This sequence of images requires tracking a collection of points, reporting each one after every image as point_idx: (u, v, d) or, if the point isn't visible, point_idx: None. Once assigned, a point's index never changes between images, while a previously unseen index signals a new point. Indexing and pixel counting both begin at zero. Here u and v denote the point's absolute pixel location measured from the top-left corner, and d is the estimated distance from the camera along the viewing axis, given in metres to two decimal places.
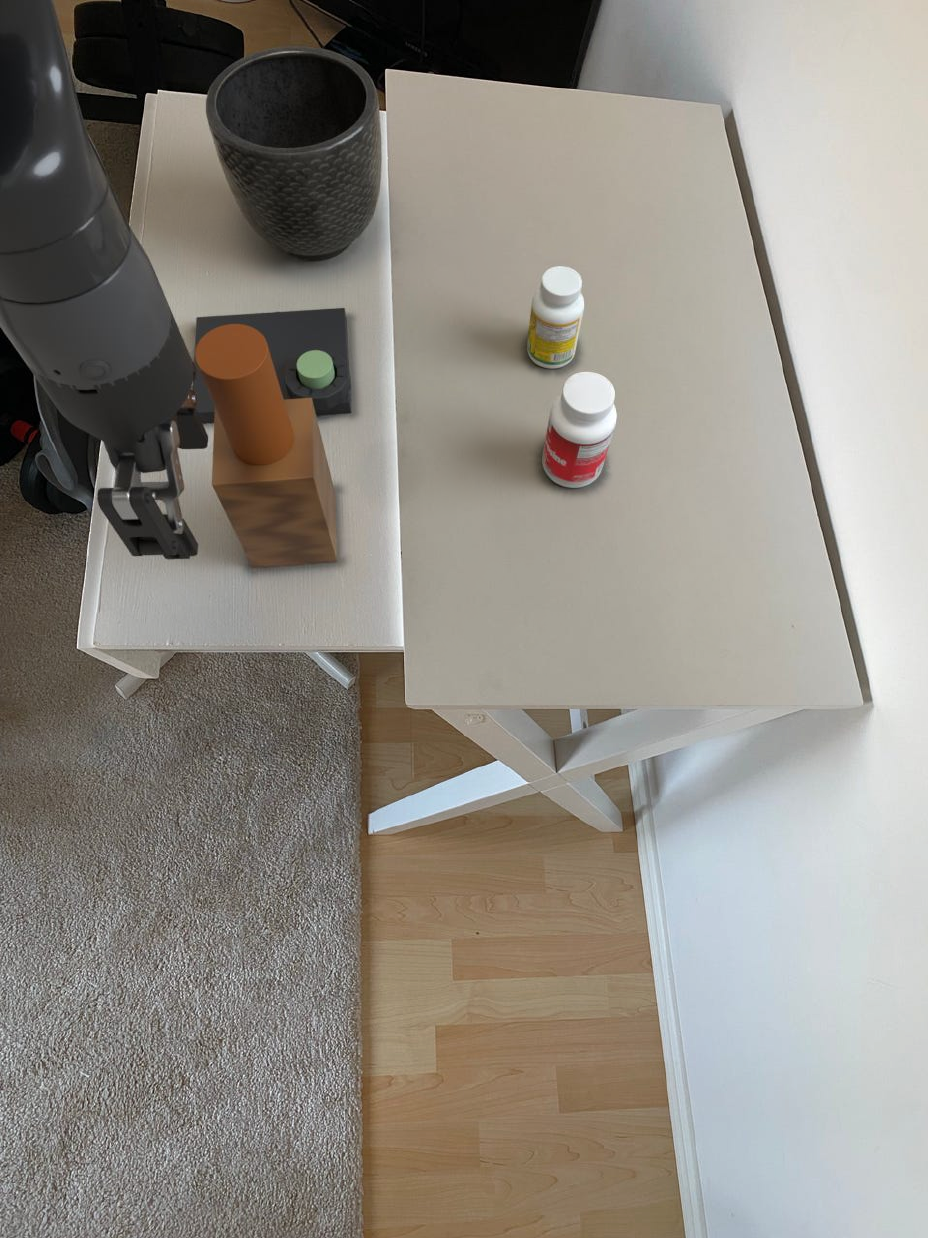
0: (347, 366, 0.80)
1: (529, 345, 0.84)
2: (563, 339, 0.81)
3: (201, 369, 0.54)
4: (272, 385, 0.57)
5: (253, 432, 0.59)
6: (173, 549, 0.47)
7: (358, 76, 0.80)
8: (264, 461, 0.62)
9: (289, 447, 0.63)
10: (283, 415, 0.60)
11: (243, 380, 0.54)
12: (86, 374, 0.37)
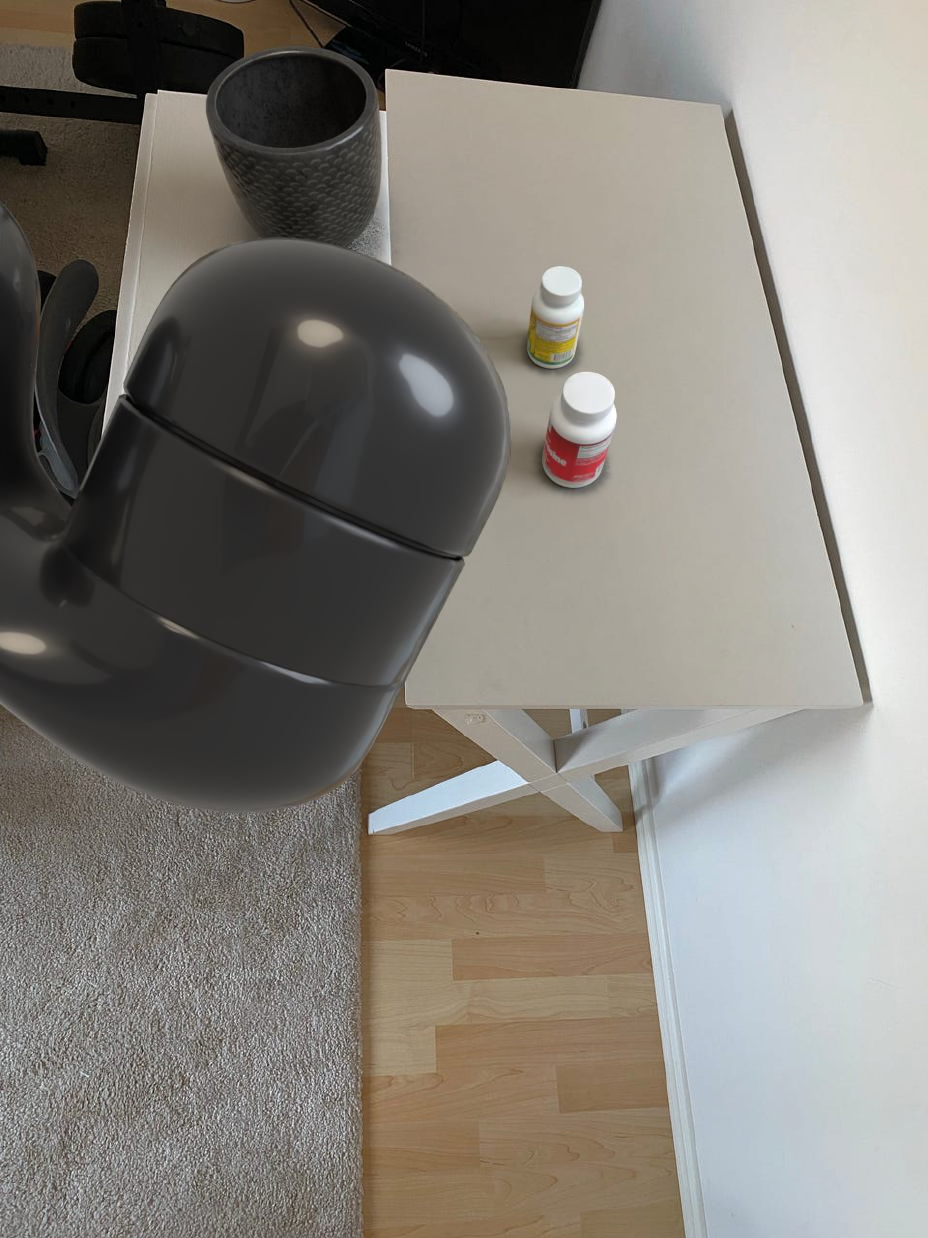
0: None
1: (529, 345, 0.84)
2: (563, 339, 0.81)
3: None
4: None
5: None
6: None
7: (358, 76, 0.80)
8: None
9: None
10: None
11: None
12: None
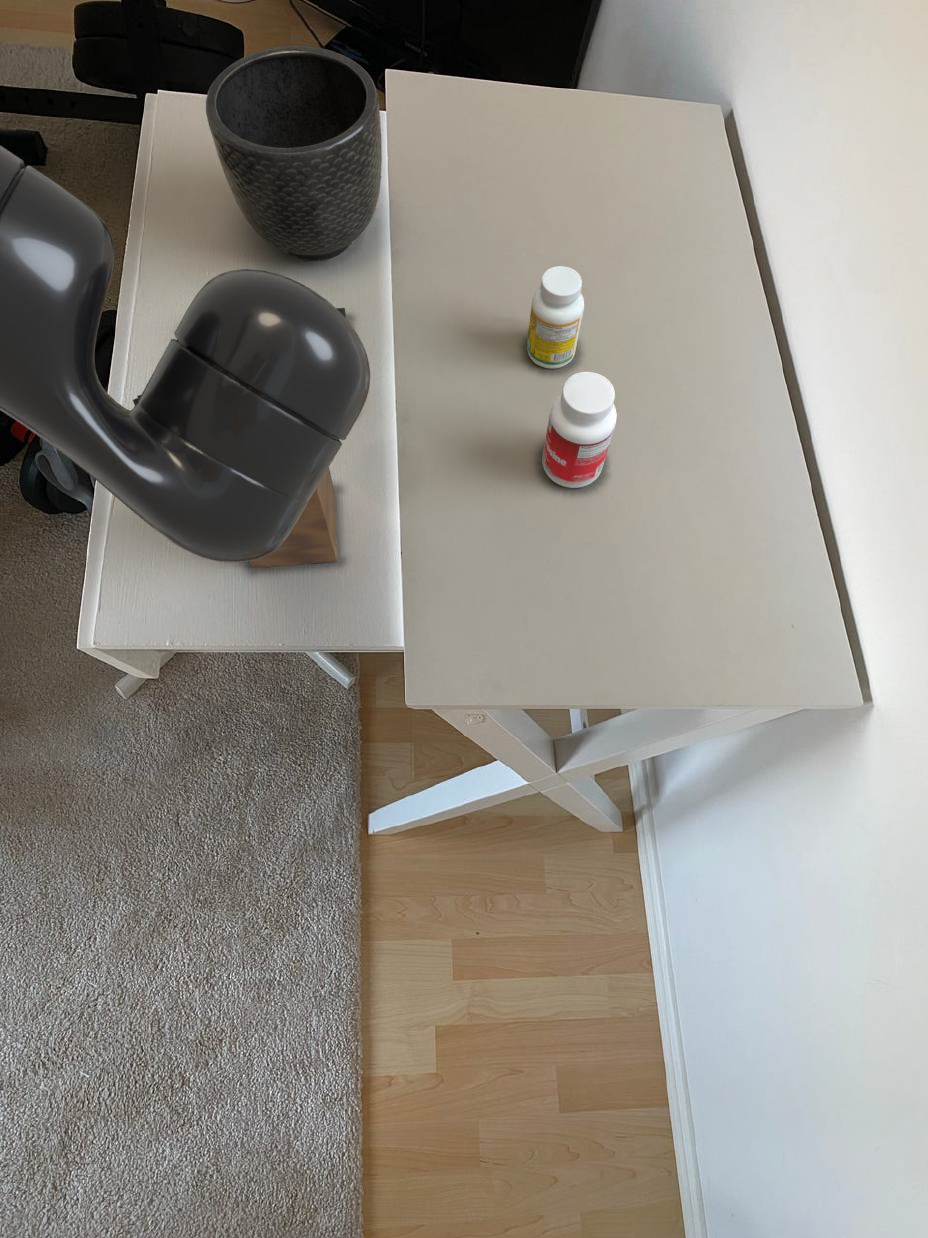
0: None
1: (529, 345, 0.84)
2: (563, 339, 0.81)
3: None
4: None
5: None
6: None
7: (358, 76, 0.80)
8: None
9: None
10: None
11: None
12: None
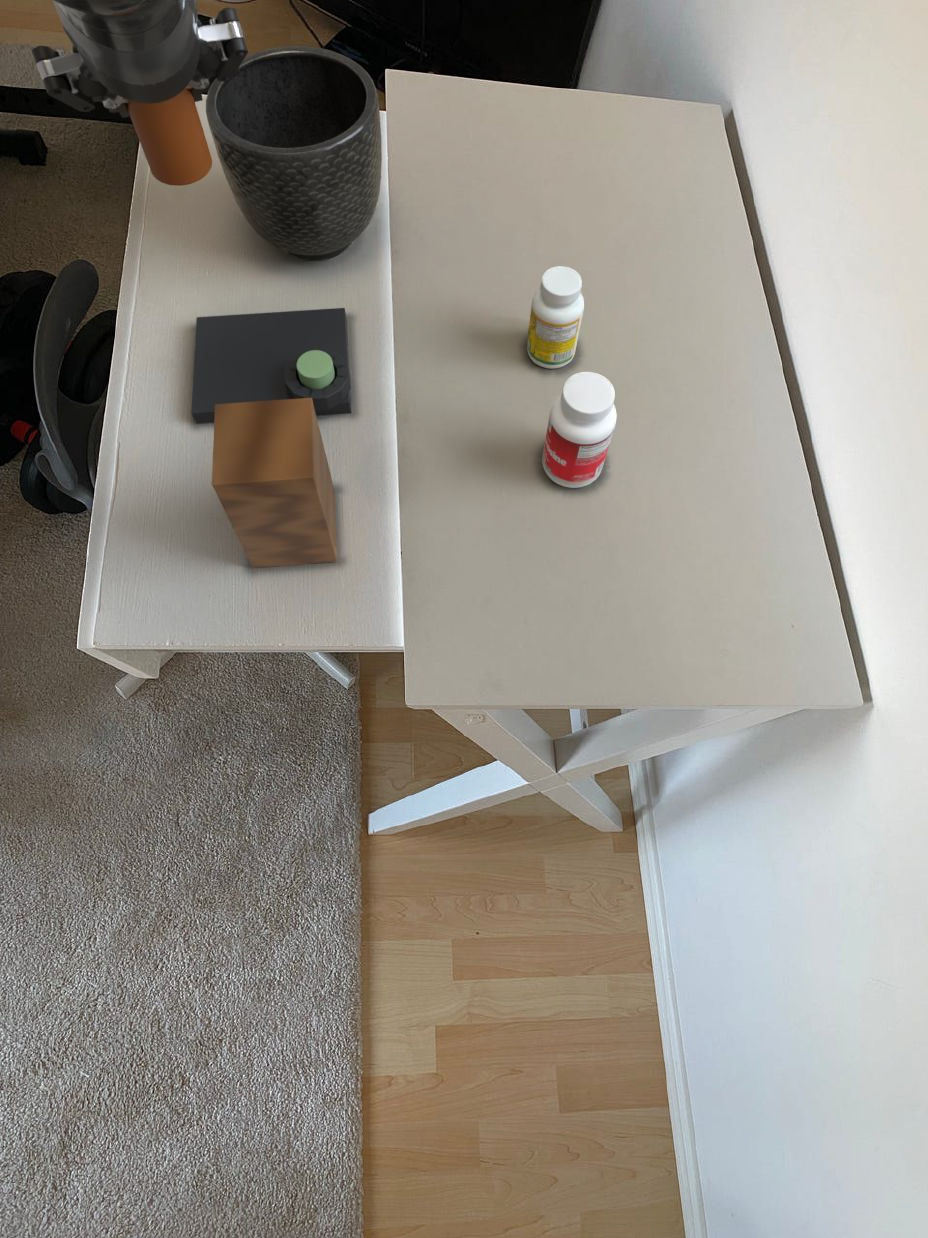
0: (347, 366, 0.80)
1: (529, 345, 0.84)
2: (563, 339, 0.81)
3: None
4: None
5: (165, 135, 0.60)
6: (82, 109, 0.56)
7: (358, 76, 0.80)
8: (181, 179, 0.63)
9: (206, 169, 0.64)
10: (197, 124, 0.61)
11: None
12: (63, 27, 0.45)
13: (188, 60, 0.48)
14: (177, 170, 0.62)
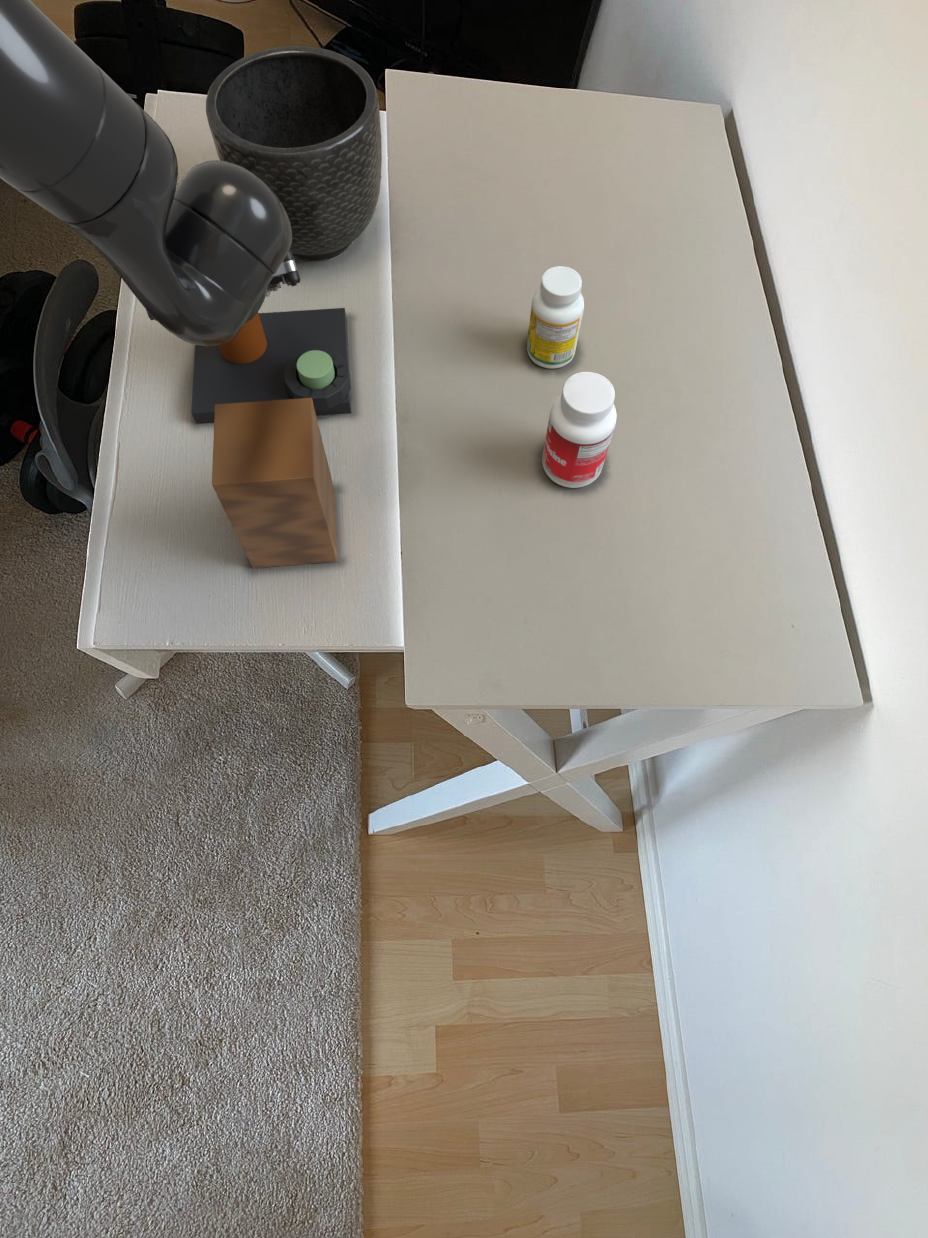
0: (347, 366, 0.80)
1: (529, 345, 0.84)
2: (563, 339, 0.81)
3: None
4: None
5: None
6: (154, 319, 0.73)
7: (358, 76, 0.80)
8: (244, 360, 0.82)
9: (263, 350, 0.83)
10: (258, 323, 0.80)
11: None
12: None
13: None
14: (241, 354, 0.81)
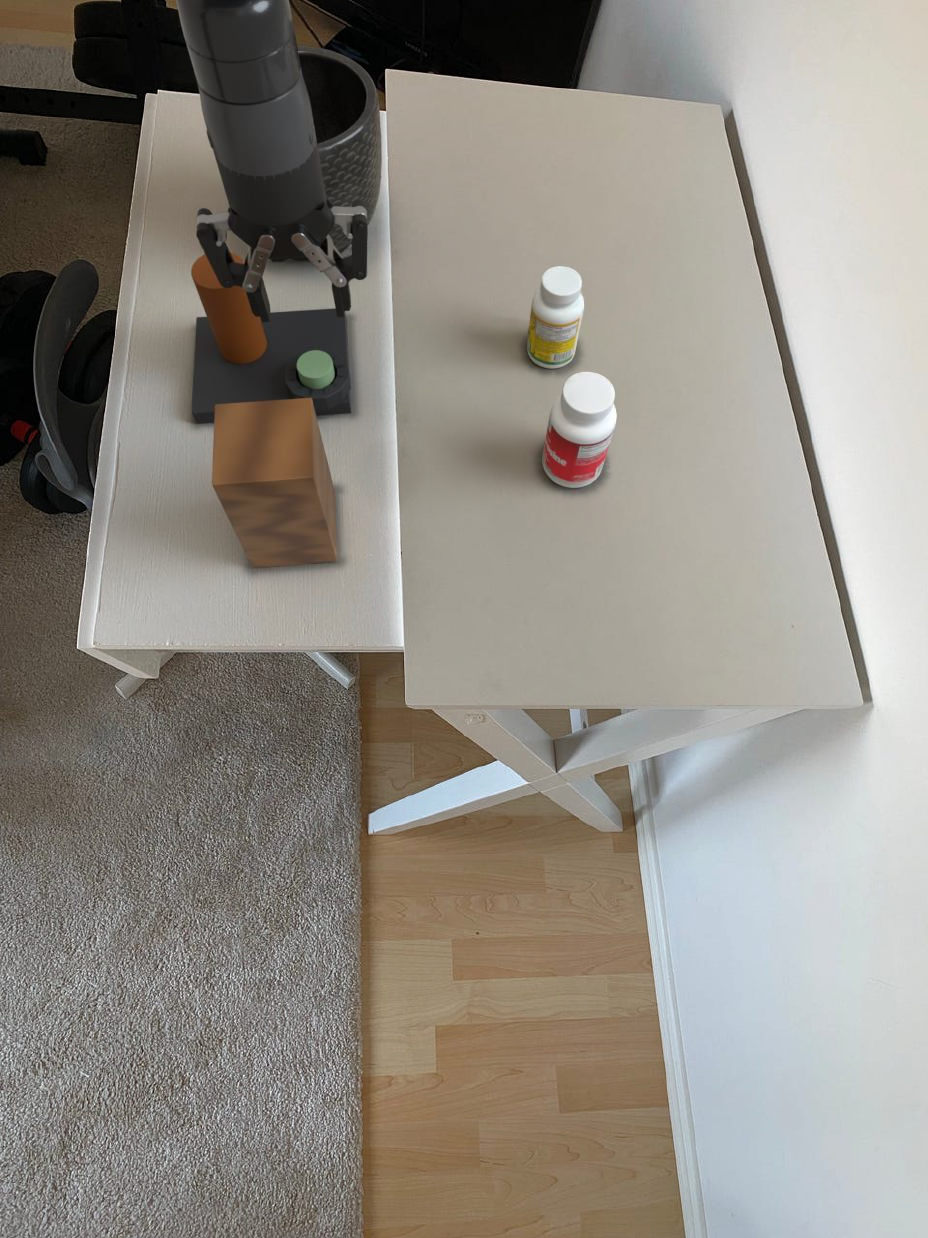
0: (347, 366, 0.80)
1: (529, 345, 0.84)
2: (563, 339, 0.81)
3: (195, 282, 0.74)
4: None
5: (235, 334, 0.79)
6: (222, 282, 0.67)
7: (358, 76, 0.80)
8: (244, 360, 0.82)
9: (263, 350, 0.83)
10: (258, 323, 0.80)
11: (226, 290, 0.74)
12: None
13: (299, 170, 0.57)
14: (241, 354, 0.81)
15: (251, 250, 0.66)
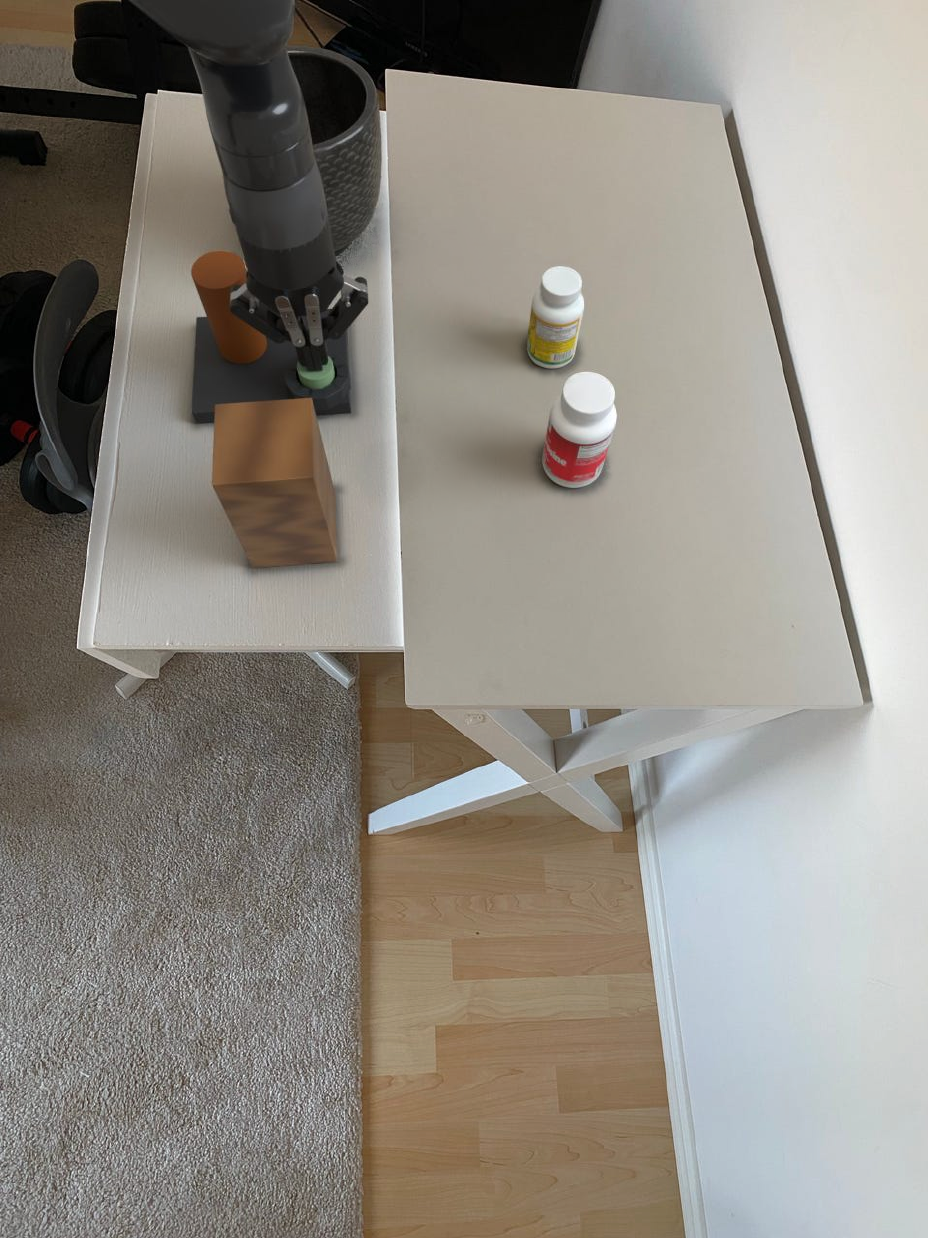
0: (347, 366, 0.80)
1: (529, 345, 0.84)
2: (563, 339, 0.81)
3: (195, 282, 0.74)
4: None
5: (235, 334, 0.79)
6: (276, 340, 0.74)
7: (358, 76, 0.80)
8: (244, 360, 0.82)
9: (263, 350, 0.83)
10: None
11: (226, 290, 0.74)
12: None
13: (312, 243, 0.63)
14: (241, 354, 0.81)
15: None
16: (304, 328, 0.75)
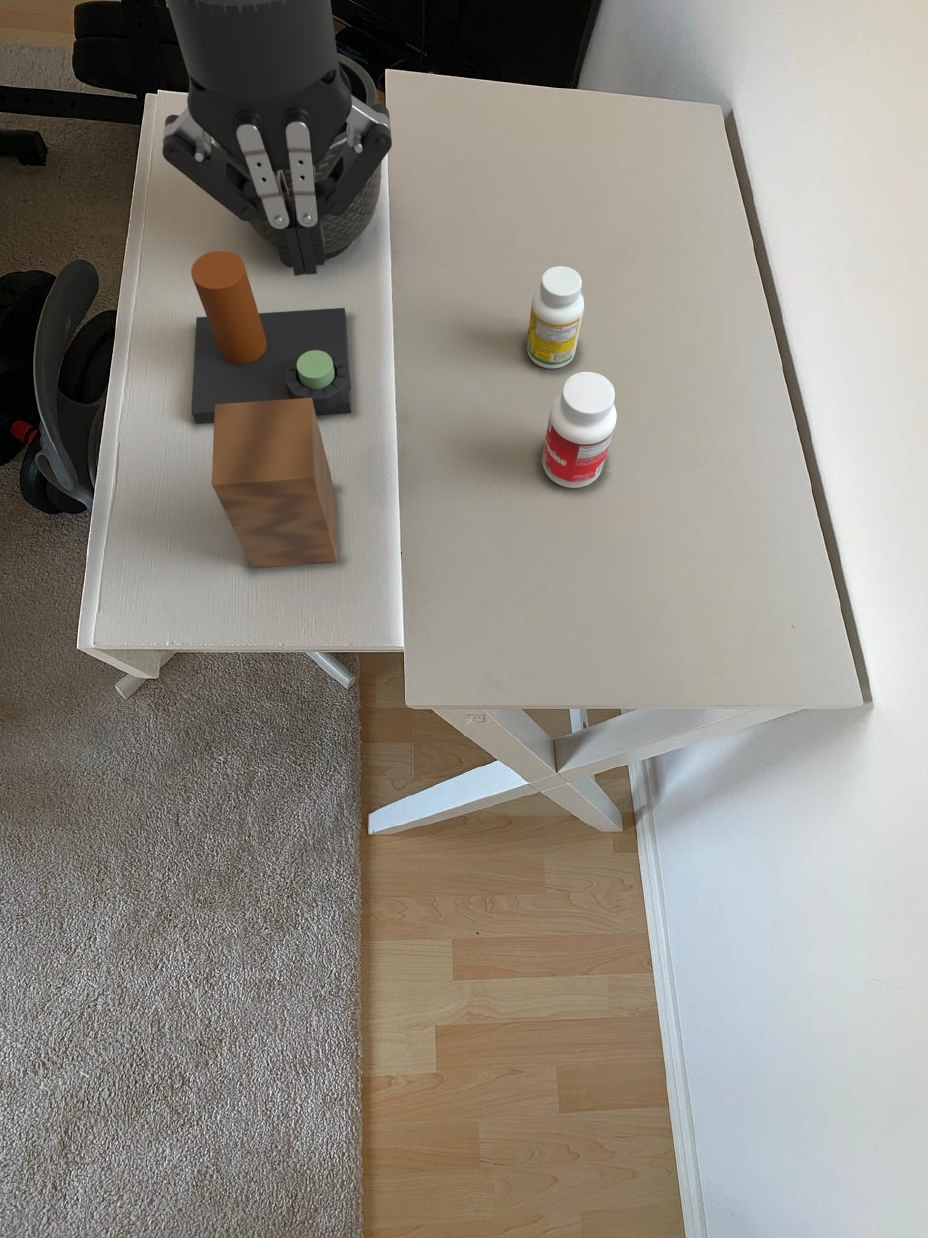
0: (347, 366, 0.80)
1: (529, 345, 0.84)
2: (563, 339, 0.81)
3: (195, 282, 0.74)
4: (248, 297, 0.76)
5: (235, 334, 0.79)
6: (241, 215, 0.46)
7: (358, 76, 0.80)
8: (244, 360, 0.82)
9: (263, 350, 0.83)
10: (258, 323, 0.80)
11: (226, 290, 0.74)
12: None
13: (297, 1, 0.35)
14: (241, 354, 0.81)
15: None
16: (287, 199, 0.47)
